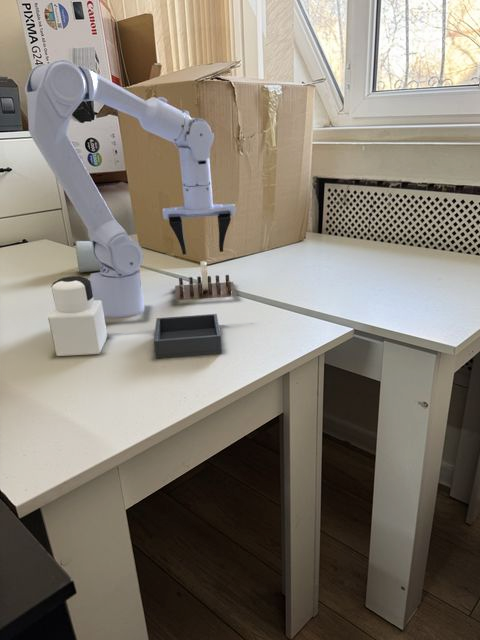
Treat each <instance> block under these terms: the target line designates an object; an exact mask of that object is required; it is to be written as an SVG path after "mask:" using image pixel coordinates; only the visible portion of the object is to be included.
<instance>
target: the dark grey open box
mask: <svg viewBox="0 0 480 640" xmlns="http://www.w3.org/2000/svg"><path fill="white" fill-rule="evenodd" d="M153 346H154V353H155V354H154V355H155V359H167V358H178V357H179V358H180V357H181V358H182V357H191V356H205V355H216V354H222V353H223V349H222V334H221V329H220V324H219V318H218V313H211V314H196V315H195V314H194V315H182V316H181V315H180V316H168V317H167V316H166V317H156V320H155V329H154V337H153Z"/></svg>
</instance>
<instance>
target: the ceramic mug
mask: <svg viewBox="0 0 480 640" xmlns="http://www.w3.org/2000/svg"><path fill="white" fill-rule="evenodd" d="M75 252H76V261H77V268H78V272H79V273H91V272H100V268H101V263H100V262H99V261H98V260H97V259H96V258H95V256H94V254H93V247H92V242H91V240H76V241H75Z"/></svg>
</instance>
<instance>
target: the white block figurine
mask: <svg viewBox="0 0 480 640" xmlns="http://www.w3.org/2000/svg"><path fill="white" fill-rule="evenodd" d="M50 287H51V291H52V297H53V302H54V306H55V308H54V309H53V311H52V312H51V313H50V314H49V315H48V318H47V320H48V323H49V328H50V333H51V338H52V343H53V346H54V351H55V355H56V356H57V357H67V356H87V355H88V356H89V355H99V354H101V351H102V349H103V347H104V345H105V343H106V341H107V338H108V331H107V325H106V319H105V318H104V313H103V307H102V301H101V300H94V299H93V294H92V288H91V282H90V279H88V278H87V277H84V276H81V275H80V276H79V275H71V276H65V277H61V278H59V279H57V280H55V281H53V283H51V286H50Z"/></svg>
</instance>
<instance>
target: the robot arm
mask: <svg viewBox="0 0 480 640" xmlns="http://www.w3.org/2000/svg"><path fill="white" fill-rule="evenodd" d="M24 94H25V97H26V103H27V104H26V105H27V122H28V123H27V124H28V133H29V134H30V137H31V139H32V141H33V142H34V144H35V145H36V147H37V149H38V151H39V153H40V154H41V155H42V157H43V158H44V160H45V162H46V163H47V165H48V166H49V168H50V170H51V171H52V173H53V175H54V176H55V178H56V180H57V181H58V183H59V185H60V186H61V188H62V190H63V191H64V192H65V195H66V196H67V198H68V199H69V201H70V203H71V205H72V206H73V208H74V209H75V211H76V213H77V214H78V216H79V217H80V219H81V221H82V222H83V224H84V225H85V227H86V229H87V237H88V239H89V241H91V242H92V247H93V254H94V256H95V258H96V259H97V260H98V261H99V262H100V263H101V268H100V271H97V272H93V273H90V275H89V280H90V282H91V288H92V294H93V299H94V300H101V301H102V307H103V313H104V319H105V318H130V317H134V316H137V315H140V314H142V313H143V312H144V311H145V301H144V294H143V286H142V278H141V272H140V271H141V270H140V267H141V266H142V264H143V261H144V252H143V249H142V247H141V245H139V244H138V243H137V242H136V241H135V240H133V239H131V237H130V236H129V235H128V233H127V231H126V230H125V228H123V227H122V226H121V224H120V223H119V222H118V221H117V220H116V219H115V217H114V216H113V214H112V212H111V210H110V208H109V206H108V205H107V203H106V201H105V199H104V197H103V196H102V194H101V193H100V191H99V189H98V187H97V185H96V184H95V182H94V180H93V178H92V176H91V175H90V173H89V171H88V170H87V167H86V166H85V165H84V163H83V161H82V159H81V157H80V155H79V154H78V151H77V150H76V148H75V147H74V145H73V143H72V141H71V140H70V137H69V136H68V134H67V131H68V128H69V125H70V122H71V118H72V116H73V113H74V112H75V111H76V109H78V107H79V106H80V105H81V103H82V102H90V101H94V102H97V103H100V104H103V105H105V106H107V107H110V108H112V109H114V110H117V111H119V112H121V113H124V114H126V115H128V116H130V117H133V118H135V119H137V120H138V122H139V124H140V126H141V128H142V129H143V130H144V131H146V132H148V133H149V134H150V133H151V134H153V135H155V136H158V137H160V138H161V139H164V140H165V141H168V142H171V143H172V144H173V145H174V146H175V148H177V149H178V157H179V165H180V175H181V187H182V195H183V196H182V197H183V204H184V206H174V207H165V208H164V207H163V208H162V210H161V211H162V218H163V221H167V220H168V224H169V226H170V228H171V229H172V231H173V233H174V235H175V236H176V238H177V241H178V243H179V245H180V249H181V253H182V255H187V246H186V241H185V236H184V235H185V234H184V224H183V219H187V218H205V217H217V226H218V249H219V252H220V253H223V252H224V245H225V238H226V235H227V231H228V229H229V227H230V224H231V220H232V218H231V216H236V205H235V203H230V204H227V203H226V204H217V203H215V204H214V201H213V189H212V175H211V162H210V157H211V147H212V145H213V143H214V139H215V133H214V132H212V129H211V126H210V125H209V123H208V122H207V120H205V119H203V118H200V117H191V115H190V112H189V111H188V110H186V109H182V110H180V109H178V108H176V107H174V106H173V105H170V104H169V103H168V99H167V98H165V97H163V96H158V97H155V96H154V97H150V98H148V99H146V100H145V99H143V98H141V97H140V96H138V95H136V94H134V93H132V92H130V91H129V90H127V89H125V88H123V87H121V85H118V84H116V83H114V82H113V81H111V80H109V79H107V78H106V77H104V76H102V75H100V74H99V73H96V72H94V71H93V70H91V69H89V68H87V67H85V66H81V65H79V66H78V65H77V64H75V63H74V62H72V61H70V60H68V59H62V58H61V59H60V58H59V59H55V60H53V61H51V62H49V63H42V64H41V63H40V64H37V65H36V66H35V67H34V68H32V69H31V71H30V73H29V75H28V77H27V80H26V84H25V87H24Z"/></svg>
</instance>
